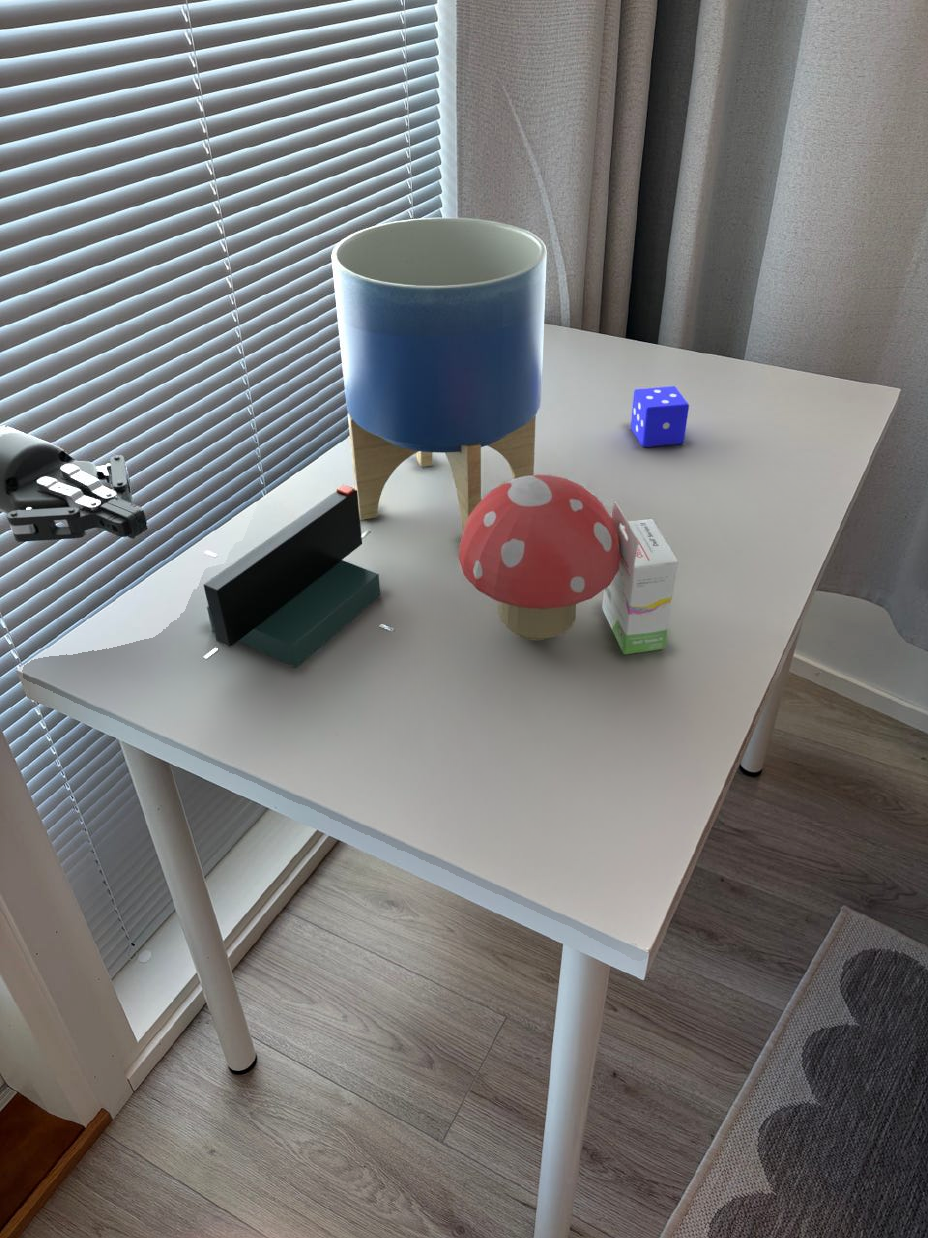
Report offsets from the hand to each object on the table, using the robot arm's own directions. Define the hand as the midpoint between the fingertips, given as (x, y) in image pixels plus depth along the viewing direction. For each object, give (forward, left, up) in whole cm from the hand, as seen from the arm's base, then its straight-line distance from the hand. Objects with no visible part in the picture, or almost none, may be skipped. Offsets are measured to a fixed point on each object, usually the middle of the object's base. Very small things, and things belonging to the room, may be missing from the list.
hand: (139, 525), depth 81 cm
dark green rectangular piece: (+7, -10, -10) cm, 16 cm away
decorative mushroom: (+16, -30, -10) cm, 35 cm away
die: (+55, -24, -10) cm, 61 cm away
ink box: (+21, -37, -10) cm, 44 cm away
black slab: (+7, -10, -7) cm, 14 cm away
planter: (+30, -11, -10) cm, 33 cm away
